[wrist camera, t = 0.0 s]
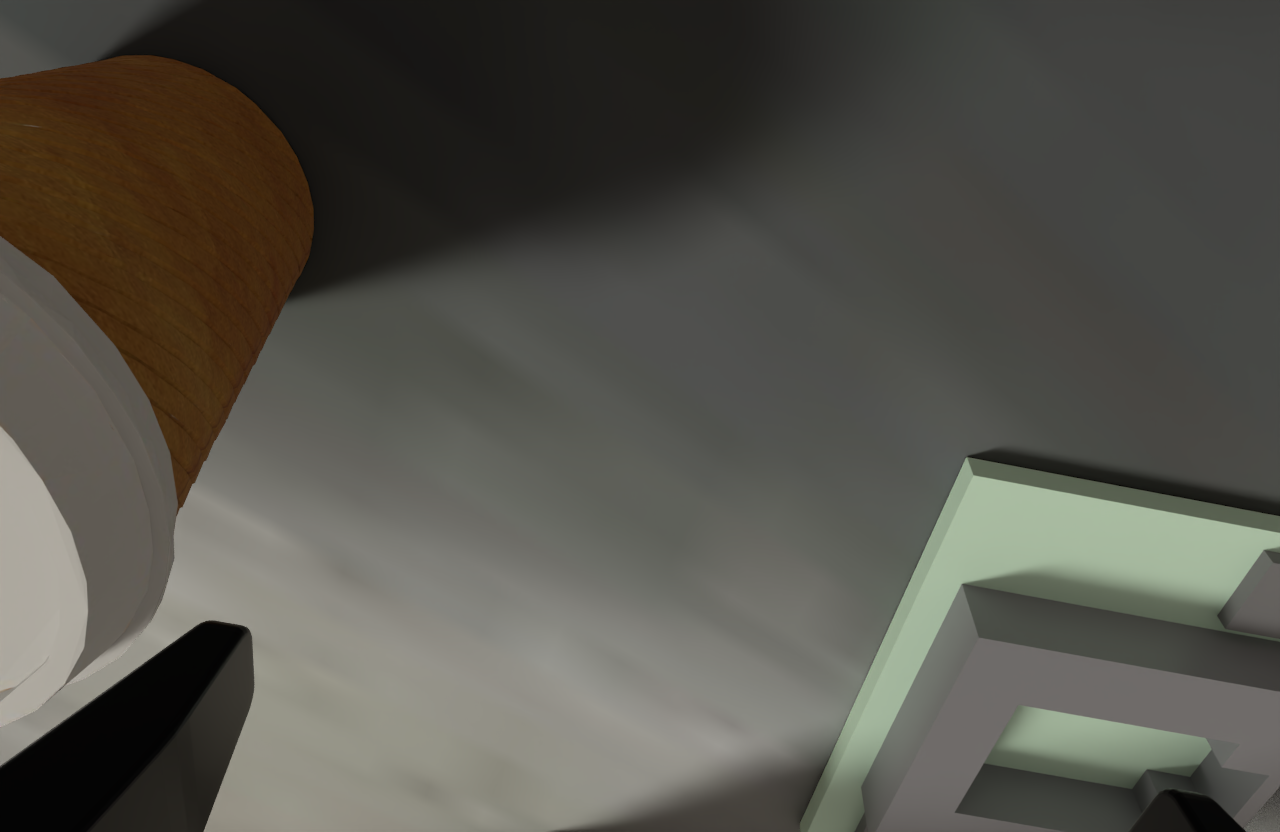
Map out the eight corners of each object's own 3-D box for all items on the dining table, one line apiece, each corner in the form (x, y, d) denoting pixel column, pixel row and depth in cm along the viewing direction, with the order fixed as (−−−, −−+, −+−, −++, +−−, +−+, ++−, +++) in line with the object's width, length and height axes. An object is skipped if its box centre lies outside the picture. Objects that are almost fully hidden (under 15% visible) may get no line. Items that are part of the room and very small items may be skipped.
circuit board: (1130, 880, 34) (1143, 916, 33) (799, 824, 34) (802, 858, 33) (1405, 539, 26) (1436, 573, 24) (966, 457, 25) (978, 487, 24)
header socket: (1158, 838, 32) (1183, 897, 30) (860, 787, 31) (869, 843, 29) (1311, 647, 27) (1351, 704, 25) (961, 583, 26) (978, 637, 25)
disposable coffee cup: (-104, 174, 23) (-757, 481, 13) (110, -138, 19) (-583, -57, 9) (231, 435, 26) (-70, 839, 16) (468, 216, 22) (269, 566, 12)
